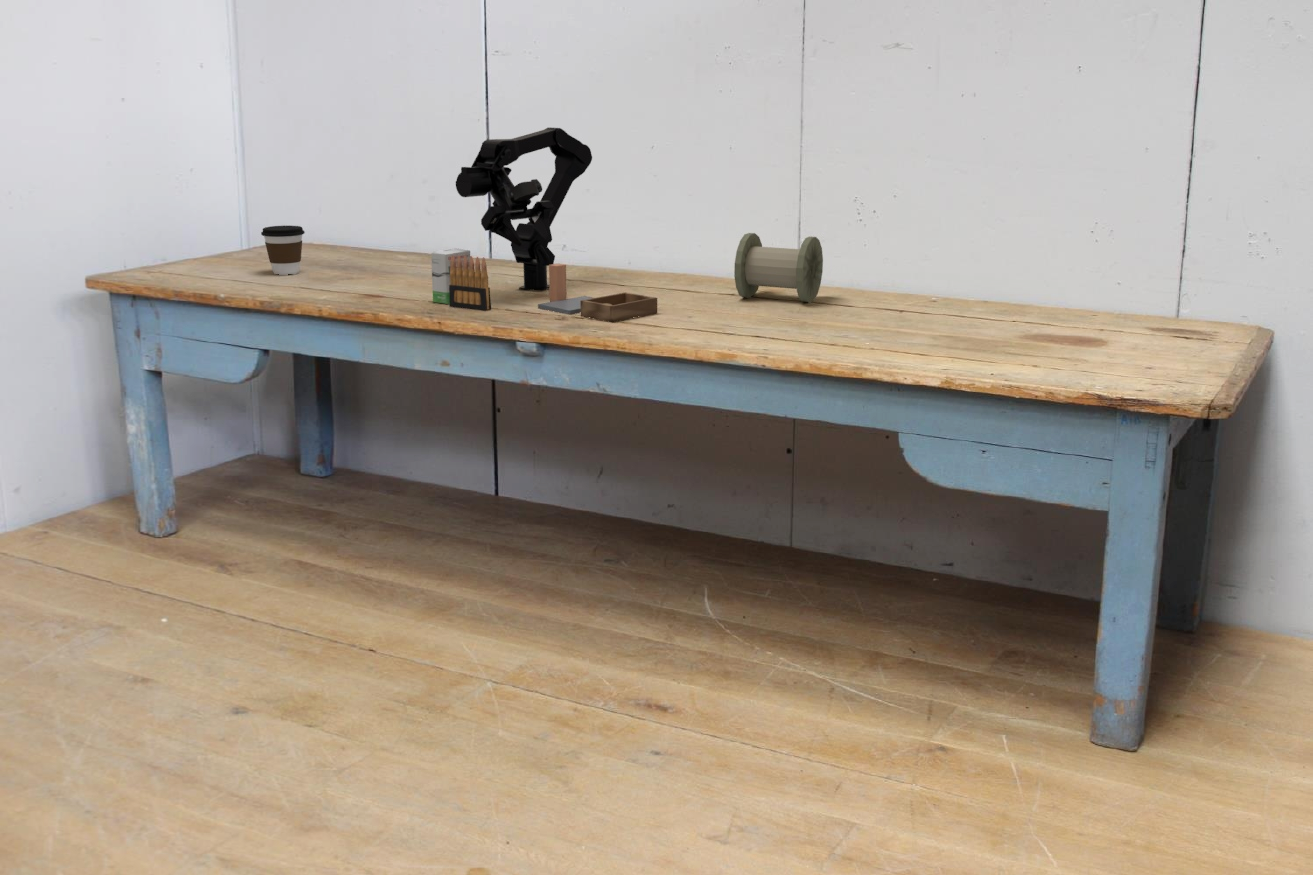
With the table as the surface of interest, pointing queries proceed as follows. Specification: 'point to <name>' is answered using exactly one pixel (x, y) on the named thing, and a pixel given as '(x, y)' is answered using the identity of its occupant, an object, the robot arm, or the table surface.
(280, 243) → the coffee cup
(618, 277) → the table surface
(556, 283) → the lid
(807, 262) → the spool
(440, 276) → the ink box
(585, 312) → the tub
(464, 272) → the ammunition clip
